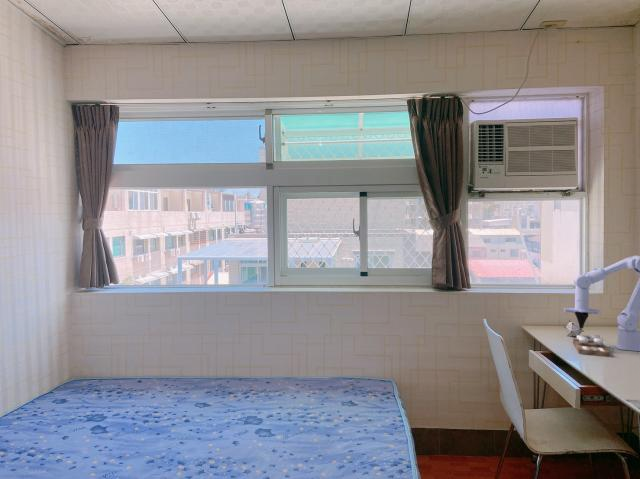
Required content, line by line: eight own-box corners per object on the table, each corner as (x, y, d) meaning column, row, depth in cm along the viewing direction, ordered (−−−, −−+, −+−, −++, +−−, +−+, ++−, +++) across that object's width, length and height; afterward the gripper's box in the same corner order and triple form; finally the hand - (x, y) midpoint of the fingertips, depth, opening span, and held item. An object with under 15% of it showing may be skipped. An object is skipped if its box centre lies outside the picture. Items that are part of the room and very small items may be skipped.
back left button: (584, 339, 214) (584, 335, 214) (585, 341, 211) (585, 337, 210) (576, 338, 215) (576, 334, 215) (577, 340, 212) (577, 336, 212)
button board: (601, 345, 212) (601, 340, 212) (609, 356, 195) (610, 351, 195) (572, 342, 217) (572, 337, 217) (578, 353, 199) (578, 348, 199)
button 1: (587, 340, 207) (587, 337, 207) (588, 343, 204) (588, 339, 204) (578, 340, 209) (578, 336, 209) (579, 342, 205) (579, 338, 205)
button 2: (598, 338, 211) (598, 334, 211) (600, 340, 208) (600, 336, 208) (590, 337, 213) (590, 334, 213) (591, 339, 210) (591, 335, 209)
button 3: (601, 342, 205) (601, 338, 205) (603, 344, 202) (603, 340, 202) (592, 341, 206) (593, 337, 206) (594, 343, 203) (594, 339, 203)
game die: (574, 344, 226) (571, 331, 221) (562, 334, 233) (558, 322, 229) (589, 335, 226) (586, 322, 221) (576, 326, 234) (573, 313, 229)
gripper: (565, 300, 211) (565, 328, 212) (601, 302, 205) (600, 331, 206) (563, 298, 217) (563, 325, 218) (598, 299, 212) (597, 327, 213)
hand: (581, 327), depth 213 cm, fingers closed
